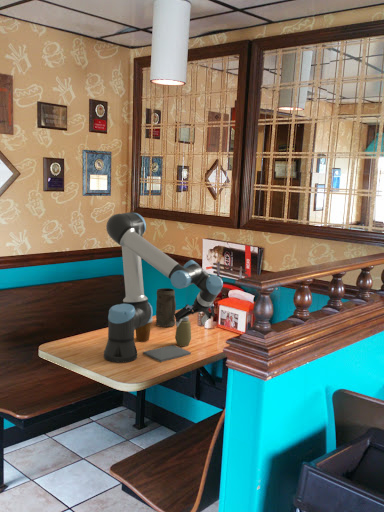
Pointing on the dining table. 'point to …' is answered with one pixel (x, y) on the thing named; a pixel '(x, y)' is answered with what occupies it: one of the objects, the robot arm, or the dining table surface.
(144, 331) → the disposable coffee cup
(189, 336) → the squeeze bottle
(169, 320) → the dark brown bag
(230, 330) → the dining table surface
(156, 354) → the rubber mat
